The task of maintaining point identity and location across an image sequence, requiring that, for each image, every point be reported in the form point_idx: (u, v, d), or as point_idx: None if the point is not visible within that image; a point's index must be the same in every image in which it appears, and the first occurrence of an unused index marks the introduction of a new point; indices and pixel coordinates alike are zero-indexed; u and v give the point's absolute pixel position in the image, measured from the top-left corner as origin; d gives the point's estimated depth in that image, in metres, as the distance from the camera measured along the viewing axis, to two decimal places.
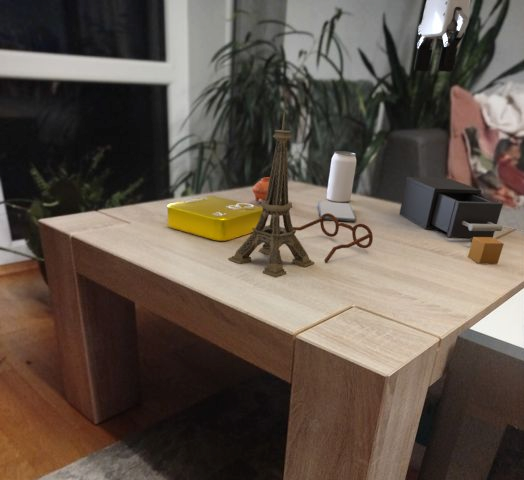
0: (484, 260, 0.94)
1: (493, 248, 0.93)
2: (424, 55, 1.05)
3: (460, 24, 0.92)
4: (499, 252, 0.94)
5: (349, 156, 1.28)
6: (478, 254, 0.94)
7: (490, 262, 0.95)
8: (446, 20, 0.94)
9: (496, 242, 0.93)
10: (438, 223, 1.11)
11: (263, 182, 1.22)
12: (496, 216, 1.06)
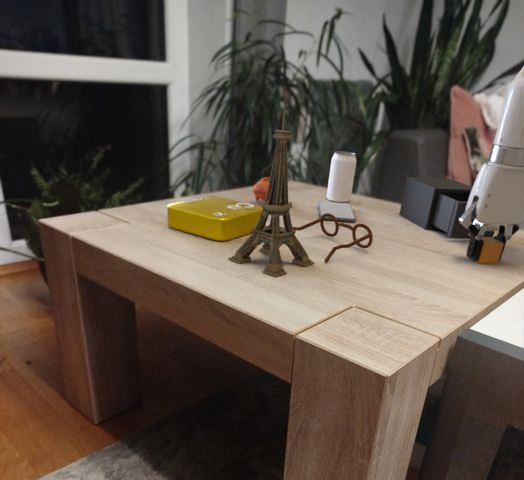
0: (484, 260, 0.94)
1: (493, 248, 0.93)
2: None
3: None
4: (499, 252, 0.94)
5: (349, 156, 1.28)
6: None
7: (490, 262, 0.95)
8: None
9: (496, 242, 0.93)
10: (438, 223, 1.11)
11: (263, 182, 1.22)
12: None
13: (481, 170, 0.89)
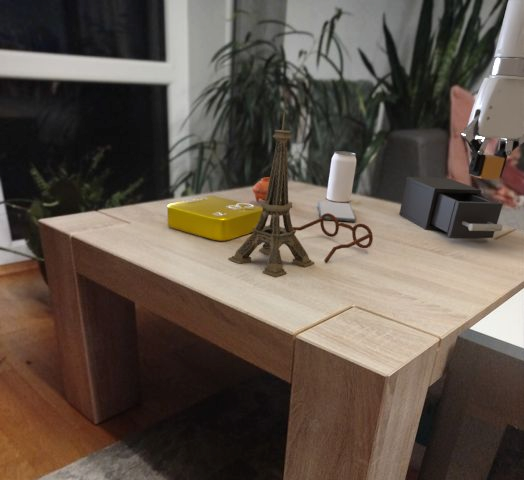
0: (486, 175, 0.98)
1: (495, 163, 0.97)
2: None
3: (523, 140, 0.97)
4: (500, 167, 0.98)
5: (349, 156, 1.28)
6: None
7: (492, 177, 0.98)
8: None
9: (497, 157, 0.97)
10: (438, 223, 1.11)
11: (263, 182, 1.22)
12: (496, 216, 1.06)
13: (483, 84, 0.92)
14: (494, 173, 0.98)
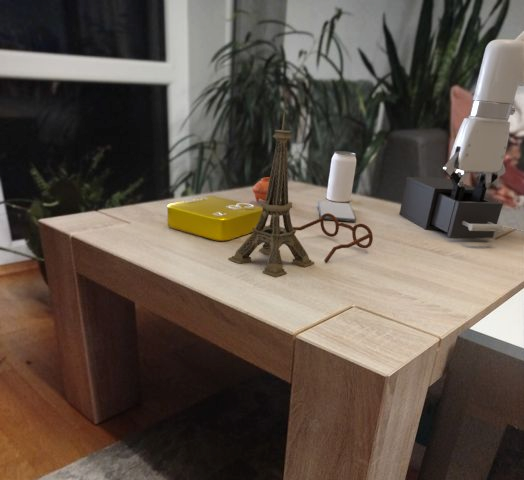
0: None
1: None
2: None
3: (501, 173, 1.06)
4: None
5: (349, 156, 1.28)
6: None
7: None
8: None
9: None
10: (438, 223, 1.11)
11: (263, 182, 1.22)
12: (496, 216, 1.06)
13: (462, 123, 1.01)
14: None
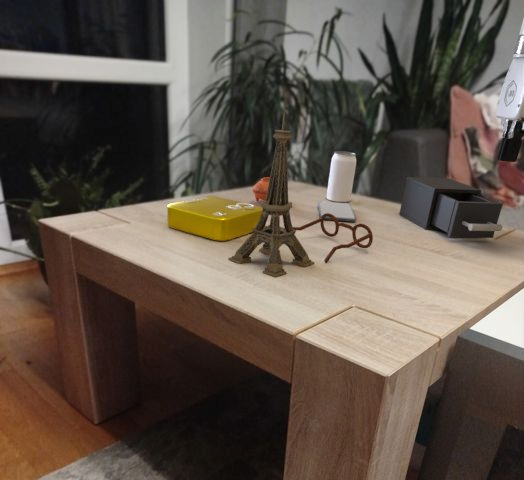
0: None
1: None
2: None
3: None
4: None
5: (349, 156, 1.28)
6: None
7: None
8: None
9: None
10: (438, 223, 1.11)
11: (263, 182, 1.22)
12: (496, 216, 1.06)
13: None
14: None
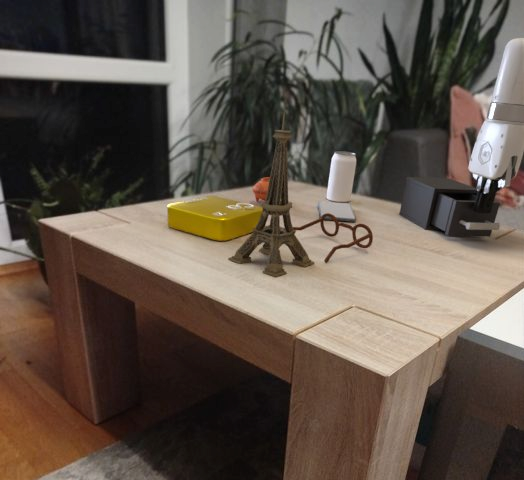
0: None
1: None
2: None
3: None
4: None
5: (349, 156, 1.28)
6: None
7: None
8: None
9: None
10: (436, 222, 1.12)
11: (263, 182, 1.22)
12: (494, 214, 1.07)
13: (514, 131, 0.92)
14: None
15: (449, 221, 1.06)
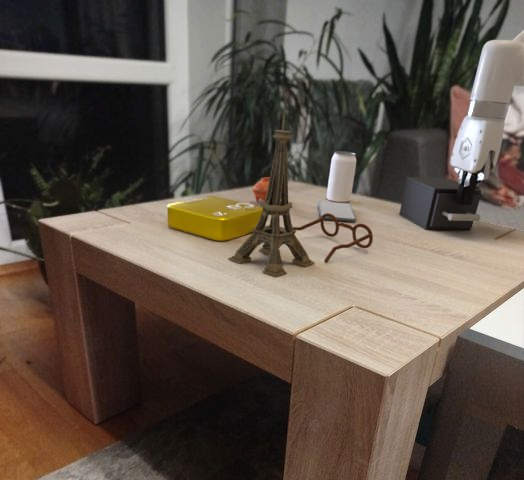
0: None
1: None
2: None
3: None
4: None
5: (349, 156, 1.28)
6: None
7: None
8: None
9: None
10: None
11: (263, 182, 1.22)
12: (475, 206, 1.13)
13: (492, 127, 0.98)
14: None
15: (432, 213, 1.12)
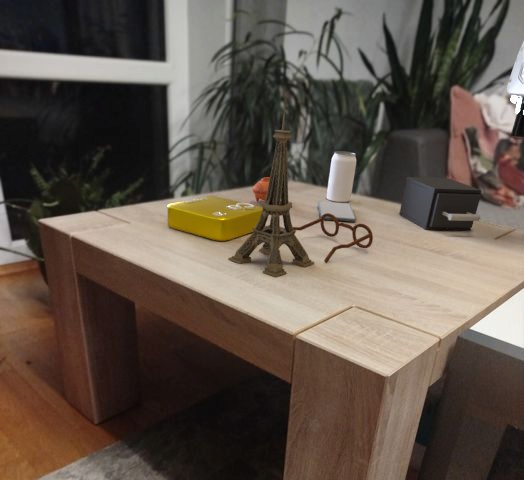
0: None
1: None
2: None
3: None
4: None
5: (349, 156, 1.28)
6: None
7: None
8: None
9: None
10: None
11: (263, 182, 1.22)
12: (475, 206, 1.13)
13: None
14: None
15: (432, 213, 1.12)
